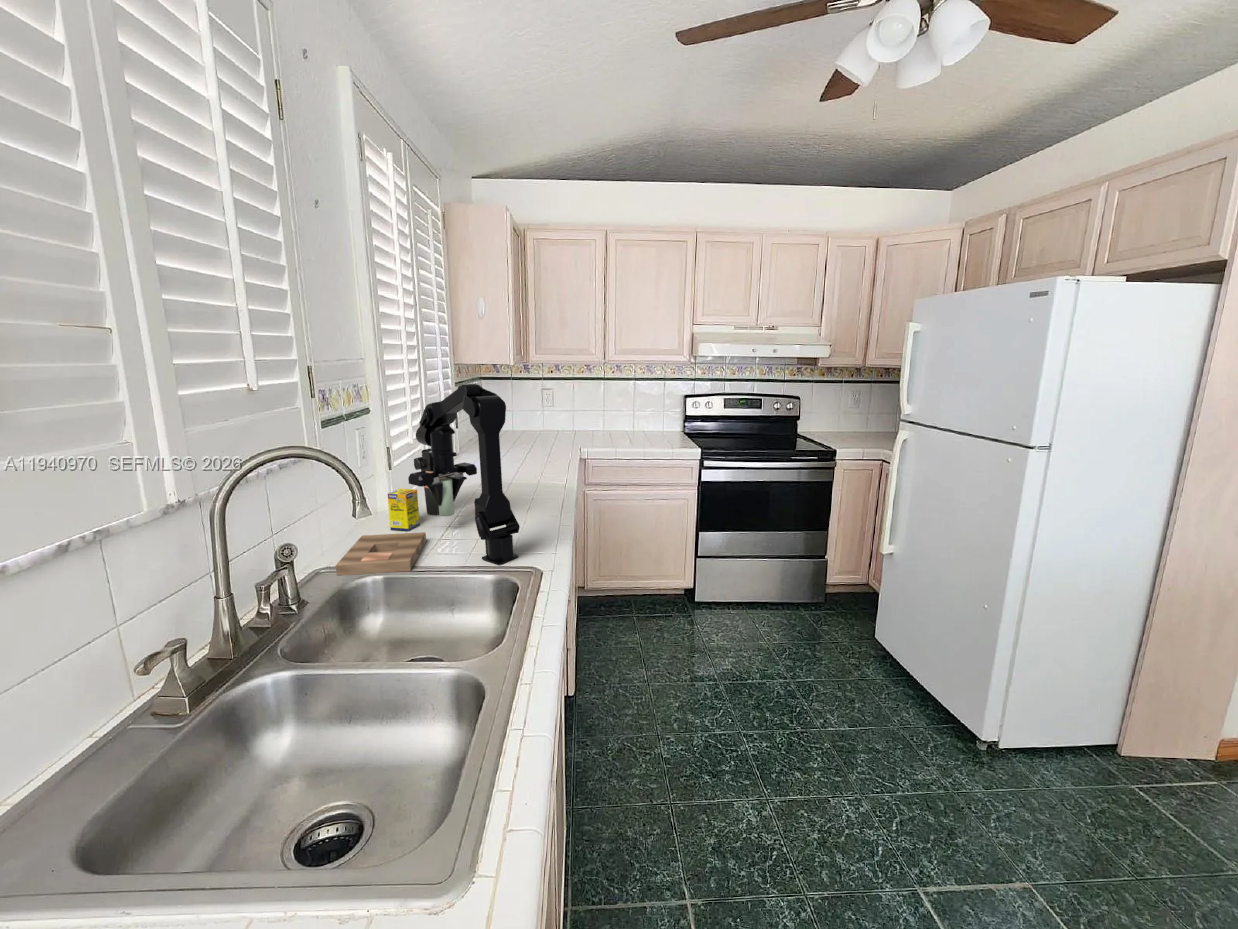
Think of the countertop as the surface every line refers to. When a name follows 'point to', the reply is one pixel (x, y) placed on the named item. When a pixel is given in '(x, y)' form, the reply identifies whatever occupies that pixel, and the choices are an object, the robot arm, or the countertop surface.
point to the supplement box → (403, 509)
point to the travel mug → (430, 500)
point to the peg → (446, 498)
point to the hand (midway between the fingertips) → (446, 503)
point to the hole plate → (382, 554)
